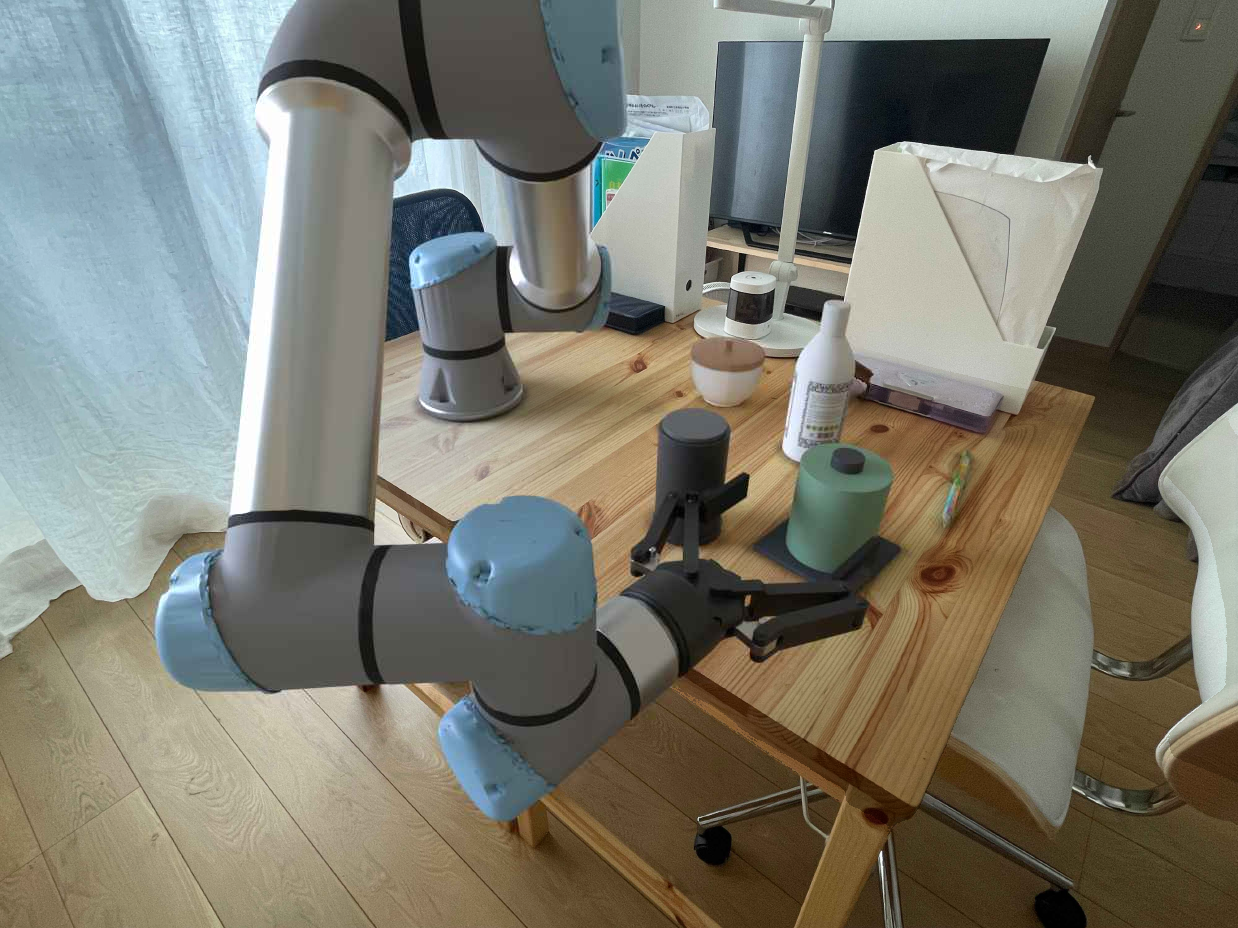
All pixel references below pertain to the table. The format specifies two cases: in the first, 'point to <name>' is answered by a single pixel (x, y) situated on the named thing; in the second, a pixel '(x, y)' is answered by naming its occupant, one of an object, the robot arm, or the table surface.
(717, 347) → the white bowl with lid
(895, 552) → the mat
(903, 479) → the table surface
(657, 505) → the cylinder
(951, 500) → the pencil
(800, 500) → the green knobbed cylinder
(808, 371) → the bath foam
